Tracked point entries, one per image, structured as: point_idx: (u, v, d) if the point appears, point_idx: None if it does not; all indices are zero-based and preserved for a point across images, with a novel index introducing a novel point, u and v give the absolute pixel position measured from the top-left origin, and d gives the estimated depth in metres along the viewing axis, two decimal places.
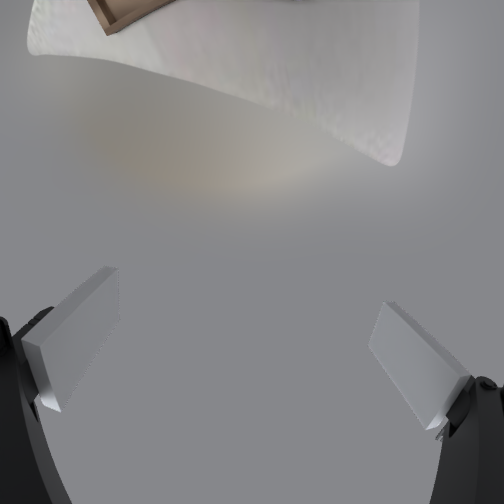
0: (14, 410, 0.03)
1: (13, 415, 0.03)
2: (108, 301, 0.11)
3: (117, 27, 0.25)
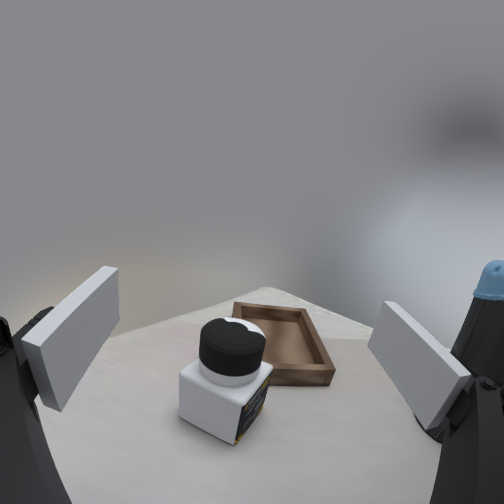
0: (14, 410, 0.03)
1: (14, 415, 0.03)
2: (108, 301, 0.11)
3: (235, 306, 0.49)
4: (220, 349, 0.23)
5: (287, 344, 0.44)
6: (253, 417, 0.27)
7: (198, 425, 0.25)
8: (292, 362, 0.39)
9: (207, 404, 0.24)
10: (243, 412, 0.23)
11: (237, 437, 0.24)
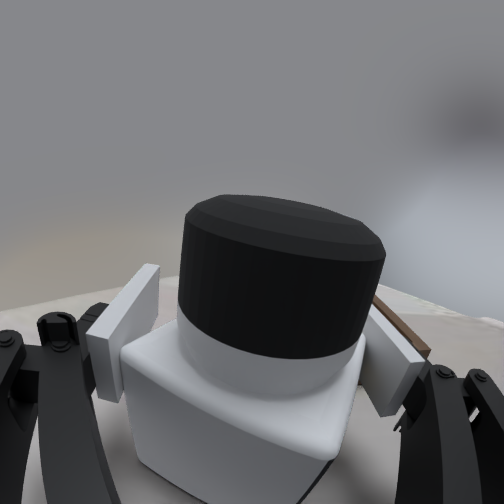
0: (77, 407, 0.04)
1: (76, 412, 0.04)
2: (152, 296, 0.12)
3: None
4: (256, 237, 0.06)
5: None
6: None
7: (182, 486, 0.08)
8: None
9: (202, 449, 0.07)
10: (323, 473, 0.06)
11: None
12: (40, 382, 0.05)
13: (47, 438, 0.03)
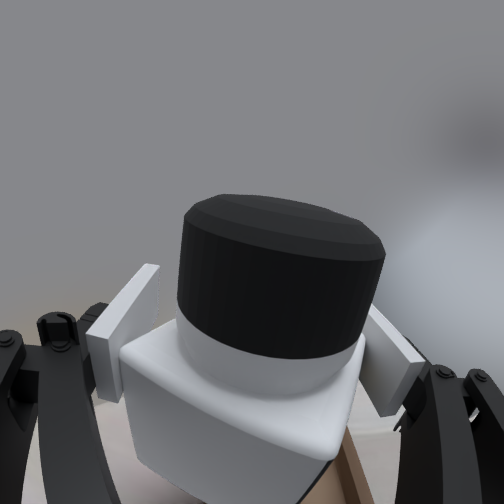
0: (77, 407, 0.04)
1: (76, 412, 0.04)
2: (152, 296, 0.12)
3: None
4: (255, 236, 0.06)
5: None
6: None
7: (181, 486, 0.08)
8: (307, 500, 0.16)
9: (201, 450, 0.07)
10: None
11: None
12: (40, 382, 0.05)
13: (47, 438, 0.03)
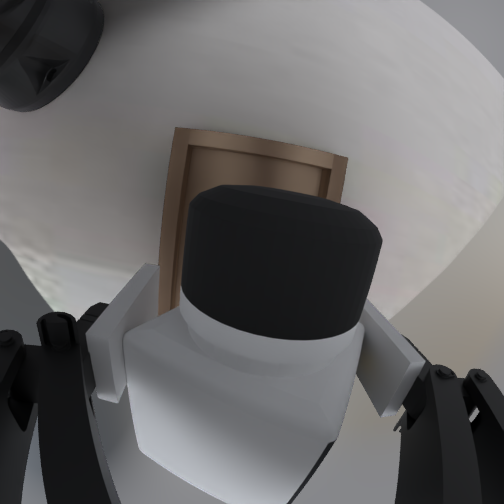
0: (77, 407, 0.04)
1: (76, 411, 0.04)
2: (152, 296, 0.12)
3: None
4: (258, 219, 0.06)
5: None
6: None
7: (182, 476, 0.09)
8: None
9: (203, 435, 0.07)
10: (323, 458, 0.06)
11: None
12: (39, 382, 0.05)
13: (47, 438, 0.03)
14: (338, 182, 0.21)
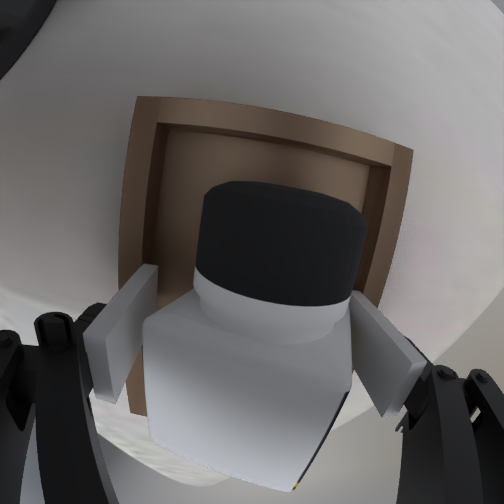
0: (74, 407, 0.04)
1: (73, 412, 0.04)
2: (150, 297, 0.12)
3: None
4: (279, 206, 0.07)
5: None
6: None
7: (198, 460, 0.10)
8: None
9: (227, 408, 0.08)
10: (338, 412, 0.08)
11: (302, 475, 0.09)
12: (37, 382, 0.05)
13: (44, 438, 0.03)
14: (400, 187, 0.12)
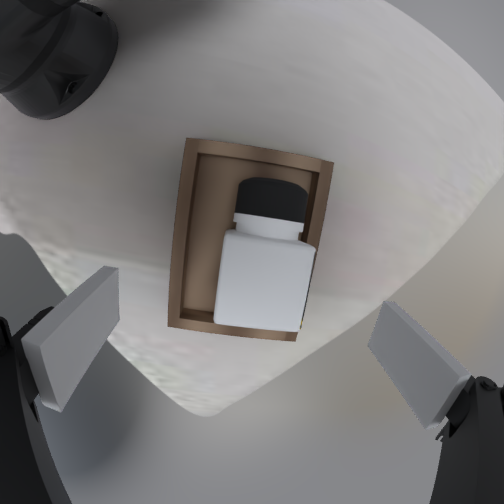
0: (14, 410, 0.03)
1: (14, 415, 0.03)
2: (108, 301, 0.11)
3: None
4: (283, 185, 0.21)
5: None
6: None
7: (248, 321, 0.22)
8: (231, 194, 0.27)
9: (267, 271, 0.21)
10: None
11: (303, 315, 0.22)
12: None
13: None
14: (325, 183, 0.25)
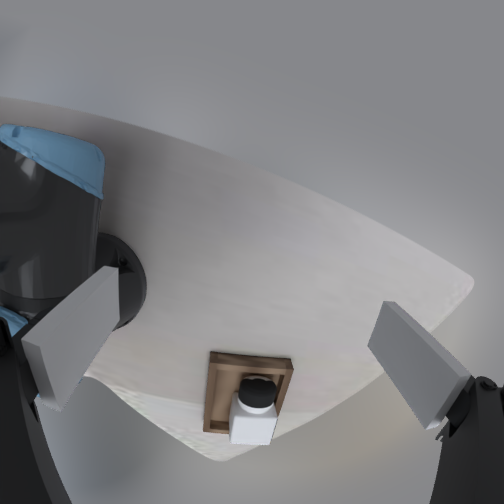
0: (14, 410, 0.03)
1: (14, 415, 0.03)
2: (108, 301, 0.11)
3: None
4: (262, 395, 0.39)
5: (231, 396, 0.46)
6: None
7: (245, 442, 0.40)
8: (235, 377, 0.45)
9: (254, 427, 0.40)
10: None
11: (271, 439, 0.41)
12: None
13: None
14: (288, 378, 0.43)
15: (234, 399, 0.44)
